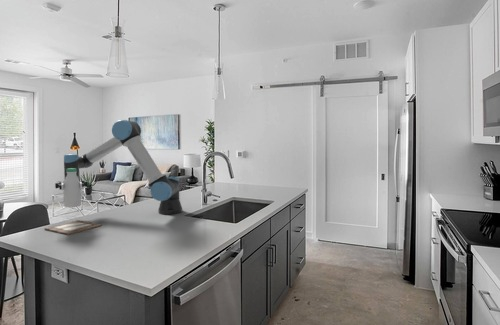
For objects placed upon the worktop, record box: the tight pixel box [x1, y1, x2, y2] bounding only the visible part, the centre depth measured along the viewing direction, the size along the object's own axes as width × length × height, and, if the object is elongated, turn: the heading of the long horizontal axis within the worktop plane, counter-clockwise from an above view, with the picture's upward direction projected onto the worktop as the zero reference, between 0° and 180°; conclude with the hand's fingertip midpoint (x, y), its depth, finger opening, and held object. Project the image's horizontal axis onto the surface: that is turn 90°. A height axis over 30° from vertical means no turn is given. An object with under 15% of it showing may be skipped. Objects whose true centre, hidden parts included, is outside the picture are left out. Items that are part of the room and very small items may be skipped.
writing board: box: [44, 219, 102, 236], centre depth 155 cm, size 20×18×1 cm
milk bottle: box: [63, 168, 82, 208], centre depth 154 cm, size 8×8×20 cm
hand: (71, 186), depth 150 cm, fingers closed on milk bottle, 7 cm apart
